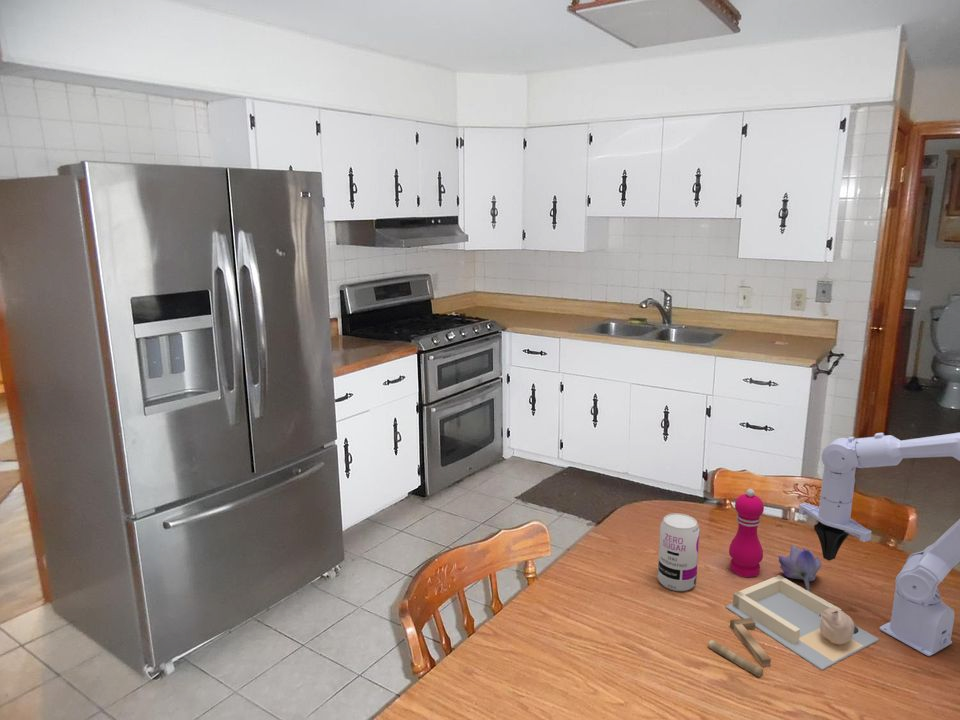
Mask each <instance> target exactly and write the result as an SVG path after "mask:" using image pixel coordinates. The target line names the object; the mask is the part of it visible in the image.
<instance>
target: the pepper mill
mask: <svg viewBox="0 0 960 720" xmlns="http://www.w3.org/2000/svg"><path fill="white" fill-rule="evenodd" d="M734 507H735V510H736V521H737V523H738V527H737V532H736V534H735V536H734V538H732V540H731V542H730V544H729V548H728V554H729V557H731V559H730V563H729V565H730V567H729V568H730V570H731V572H732V573H733V574H735V575H737V576H740V577H744V578H753V577H757V576H758V575H759V574H760V569H761V565H760V563H761V562H762V560H763V559H764V558H763V557H764V550H763V546H762V544H761V541H760V539H759V537H758V528H759V527H758V526H760V524H761V519H762V518H761V516H762V514H763V513H764V509H765V504H764V503H763V501H762V499H761V498H760V497H759V496H757V495H755V491H754V489H752V488H748V489H747V490H746V491H745V493H743V494H741V495H739V496H738V497H737V498H736V500H735V504H734Z"/></svg>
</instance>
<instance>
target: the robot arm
mask: <svg viewBox="0 0 960 720" xmlns="http://www.w3.org/2000/svg"><path fill="white" fill-rule="evenodd" d="M942 457H951V458H952V457H953V458H954V459H956V460H957V461H959V462H960V432H954V433H947V434H946V433H945V434H941V435H933V436H925V437H924V436H923V437H919V438H909V439H903V440H900V439H899V438H897V437H895V436H894V435H891V434H889V435H885V433H884V432H877V433H875V434H874V435H873V436H868V437H859V438H858V437H857V438H856V437H855V436H849V437H848V438H847V437H839V438H835V439H834V440H833V441H832V442H830V443H829V444H828V445H827V446H826V447H825V448H824V449H823V451H822V453H821V461H822V464H823V465H824V467H823V473H822V479H821V480H822V481H821V488H820V495H819V496H820V497H819V506H817V505H813V504H810V503H808V502H803V503H800V504H799V506H798V513H799V514H800V515H805V516H808V517H811V518H813V519H814V520H815V519H816V521H818V522H817V523H816V524H814V526H813V530H814V531H815V534H816V535H817V537H818V541H819V543H820V546H821V551H822V558H823V559H824V560H826V561H832V560H836V557H837V555H838V552H839V550H840V548H841V547H842V544H843V543H844V542H845V540H846V539H847V538H848V537H849V536H850V535H851V536H853V537H856V538H858V539H859V541H860V542H863V543H866V542H868V541H871V539H872V532H873V531H872V530H870V529H868V528H866V527H865V526H863V525H862V524H861V523H859V522H857V521H855V520H854V519H852V518H851V515H852V509H853V508H852V506H853V499H854V497H853V496H854V491H855V483H856V477H855V476H856V470H857V468H859V469H865V468H866V469H867V468H868V469H869V468H880V467H881V468H882V467H892V466H898V465H900V463H901V461H902V460H903V459H913V458H914V459H917V458H942ZM959 563H960V518H959V519H958V520H957V521H956V522H954V524H952V526H951V527H950V528H948V529H947V530H946V531H945V532H944V533H943V534H942V535H941V536H940V537H939V538H938V539H936V540H935V542H933V543H932V544H930V545H928V546H927V547H925V549H923V550H921V551H918V552H914V553H912V554H910V555H908V557H907V558H906V561H905V563H904V566H903V567H902V569H901V570H900V572H899V573H898V574H897V575H896V577H895V581H894V582H895V590H894V595H893V603H892V609H891V615H890V621H889V622H886V623H884V624H883V625H880V626H879V630H880V631H882V632H883V633H885V634H887V635H889V636H891V637H892V638H894V639H896V640H898V641H899V642H902V643H903V644H905V645H907V646H908V647H911V648H913V649H915V650H916V651H918V652H919V653H922V654H924V655H926V656H927V657H931V656H932V655H934V654H936V653H938V652H940V651H941V650H943V649H945V648H946V647H948V646H950V645H952V644H953V641H952V634H953V628H954V621H955V617H956V615H955V611H954V609H953V608H952V607H950V606H948V605H947V604H946V603H944V602H943V600H942V599H941V594H940V591H939V589H938V586H939V584H941V583H942V581H944V579H945V578H946V577H947V576H948V574H949V573H950V572H951V570H952V569H953V568H954V567H956V565H958V564H959Z"/></svg>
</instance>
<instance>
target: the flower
mask: <svg viewBox="0 0 960 720" xmlns="http://www.w3.org/2000/svg"><path fill="white" fill-rule="evenodd" d="M778 563H780V566H779V567H780V570H781V571H782V573H783V575H784V576H785V577H786V578H790V579H796V580H802V581H803V582H804V585H805V590H807V591H809V592H811V590H810V582H813V581H815V579H816V576H817V573H818V572H819V571H820V569H821V566H822V562H821V560H820V557H819V556H817V558H816V557H815V554H814V551H813V550H807V549H806V548H804V547H801V549H800V548H797V546H796V545H790V551H789V555H787V556H786V557H785V556H783V555H778Z"/></svg>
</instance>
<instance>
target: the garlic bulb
mask: <svg viewBox="0 0 960 720" xmlns="http://www.w3.org/2000/svg"><path fill="white" fill-rule="evenodd" d="M819 616H820V617H819V628H820V631H821V633H822V635H823V636H824V637H826V638H827V639H828V640H829V641H830V642H831V643H834V644H845V643H846V642H848V641H850V640H851V638H852V636H853V633H854V628H855V626H856V624H855V623H854V621H853V619H852V617H851V616H849V615H848V614H847V613H845V612H844V611H843V610H842V611H841V610H839V609H836V608H828V609H826V610H824V611H823V612H822V613H821V615H819Z"/></svg>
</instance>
